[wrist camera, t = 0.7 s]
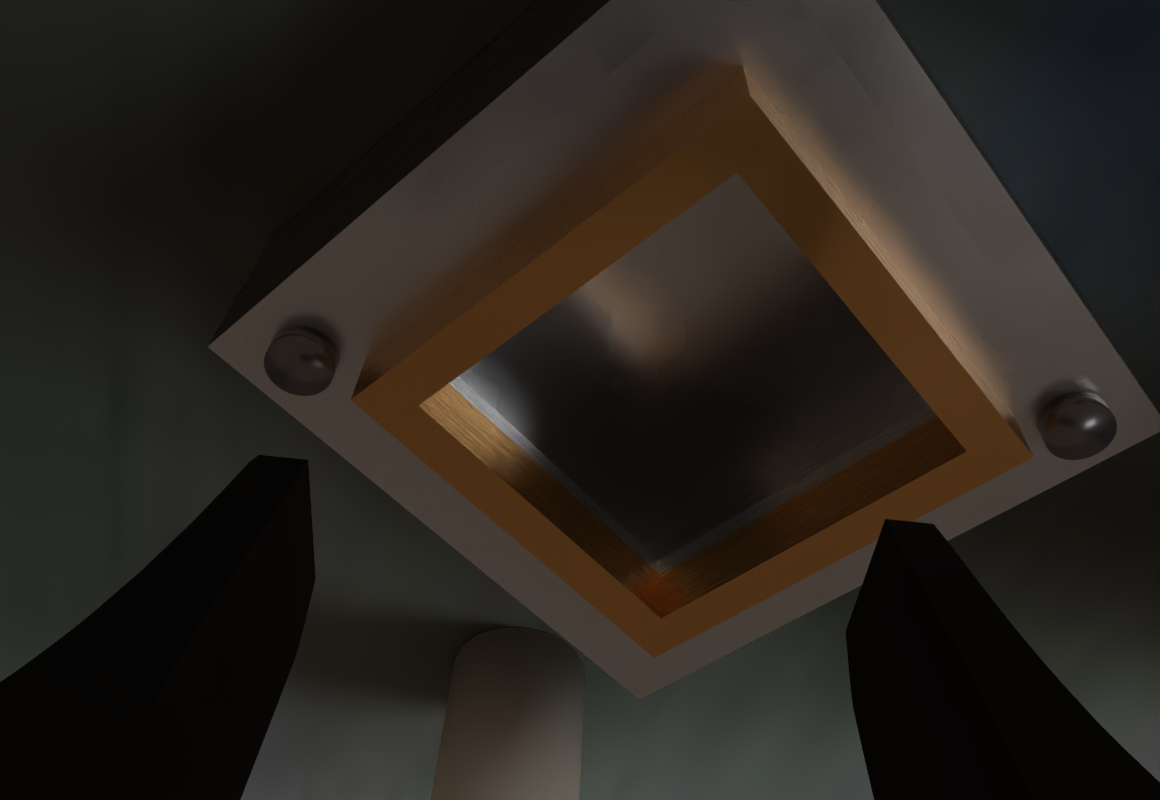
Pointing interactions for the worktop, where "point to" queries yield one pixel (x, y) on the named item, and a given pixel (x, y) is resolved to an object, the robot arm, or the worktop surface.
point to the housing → (684, 321)
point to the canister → (512, 720)
